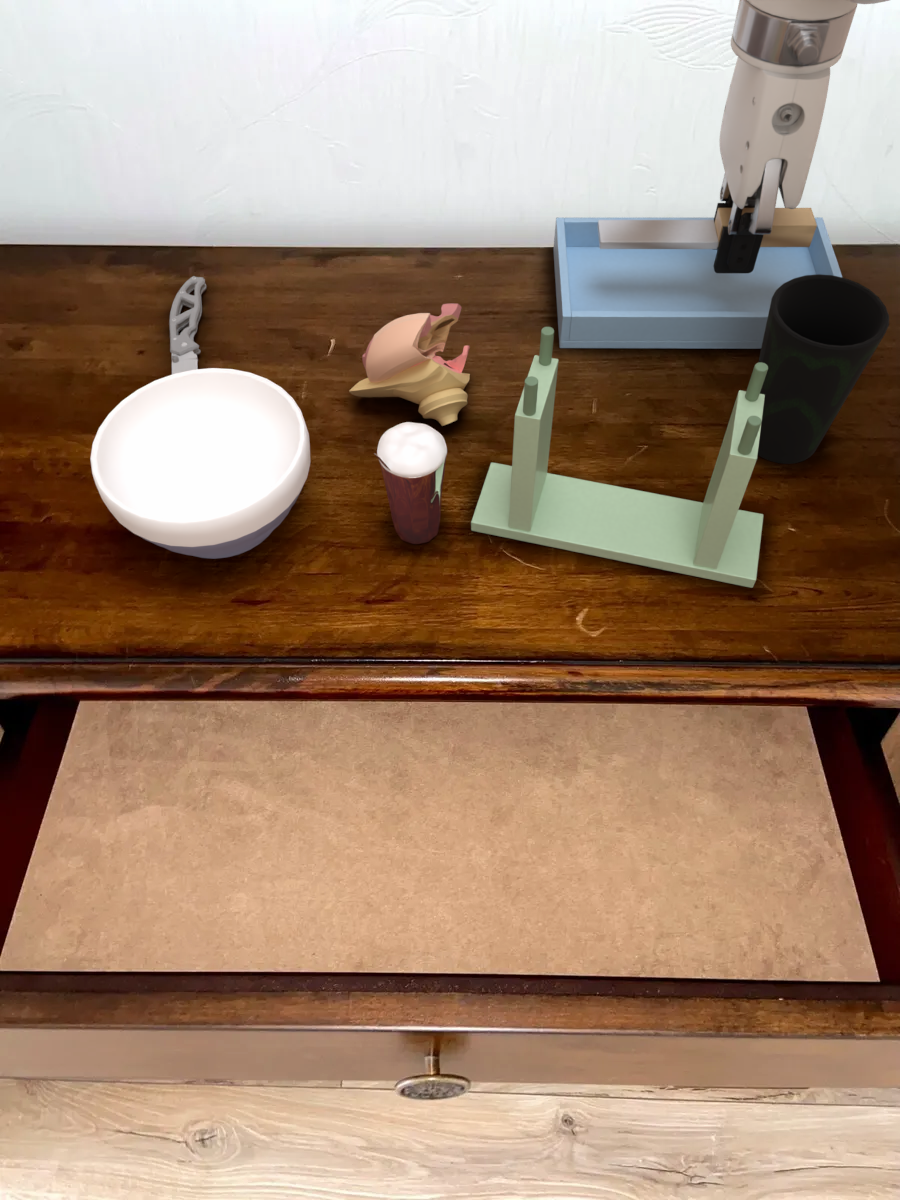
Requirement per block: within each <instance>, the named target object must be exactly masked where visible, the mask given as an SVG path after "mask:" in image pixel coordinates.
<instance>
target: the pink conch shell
mask: <svg viewBox="0 0 900 1200" xmlns="http://www.w3.org/2000/svg"><path fill="white" fill-rule="evenodd" d="M440 310H441V313H440V315H439V316H437V315H433V314H431V313H430V312H418V313H412V314H407V315H403V316H401V317H397V318H395V319H393V320H391V321H389V322H388V323H386V324H385V325H383V326H382V327H381V328H380V329H379V330H378V331H377V332H376V333H374V334H373V336H372V338H371V340H370V341H369V343H368V345H367V348H366V350H365V352H364V353H363V354H362V356H361V357H362V358H361V359H362V364H363V368H364V370H365V373H366V378H364V379H362V380H359V381H358V382H357V383H356V384H355V385H354V386H352V387H351V389H349V390H348V391H349V394H351V395H353V396H355V397H358V398H401V399H404V400H406V401H409V402H411V403H414V404H417V405H418V410H417V412H418V413H419V414H420V415H421V416H422V418H423V419H425V420H426V419H432V420H436V421H437V422H438V423H439V424H440V426H441V427H443V426H446V425H449V424H452V423H453V422H456V421H458V415H459V412H460V411H461V410H462V409H463V408H464V407H465V406H467V405H468V397H469V394H468V393H467V392H466V391H464V390H465V388H466V387H467V385H468V383H469V382H470V375H471V373H465V372H463V371H464V367H465V366H466V365H465V364H466V361H467V359H468V355H469V352H470V349H471V346H470V345H468V344H467V345H463V349H462V353H461V354H459V355H458V356H456V357H455V358H453V359H452V360H451V359H448V360H445V359H444V358H443V357H442V356H440V355H436V354H437V353H438V352H440V353H444V349H445V347H446V343H447V340H448V337H449V334H450V330H451V327H452V326H453V325H455V324H457V322H458V321H459V319H460V315H461V313H462V312H461V311H462V306H461V304H460V303H443V304H442V305H441V308H440Z"/></svg>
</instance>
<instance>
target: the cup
mask: <svg viewBox="0 0 900 1200" xmlns="http://www.w3.org/2000/svg"><path fill="white" fill-rule="evenodd" d="M842 277H843V276H842ZM842 277H838V276H833V275H821V274H817V275H805V276H802V277H798V278H794V279H792V280H790V281H788V282H786V283H784V284H782V285H781V286H780V287H779V288H778V289H777V290H776V291H775V293H774V295H773V297H772V299H771V304H770V309H769V314H768V319H767V323H766V328H765V333H764V338H763V342H762V347H761V349H760V353H759V357H758V362H757V363H759V362H762V363H765V364H766V365H767V366H768V371H767V374H766V377H765V380H764V382H763V385H762V388H761V391H760V394H764V395H765V398H764V406H763V415H762V423H761V431H760V439H759V447H758V455H757V456H759V457H760V458H762V459H764V460H767V461H769V462H772V463H775V464H782V465H783V464H784V465H791V464H798V463H801V462H804V461H806V460H808V459H809V458H811V457H812V456H813V455H814V454H815V452H817V449H818V448H819V446H820V444H821V442H822V441H823V439H824V437H825V436H826V434H827V432H828V431H829V429H830V427H831V426H832V424H833V422H834V421H835V419H836V417H837V415H838V414H839V412H840V410H841V409H842V407H843V406H844V404H845V402H846V400H847V399H848V397H849V395H850V394H851V392H852V390H853V389H854V387H855V386H856V383H857V382H858V380H859V379H860V376H861V375H862V373H863V372H864V370H865V368H866V367H867V365H868V364H869V361H870V360H871V359H872V357H873V355H874V353H875V352H876V350H877V349H878V347H879V345H880V343H881V341H882V340H883V338H884V336H885V334H886V333H887V331H888V328H889V326H890V314H889V311H888V309H887V306H886V305H885V304H884V302H883V301H882V300H881V298H880V297H879V296H878V295H877V294H876V293H874V292H873V291H872V290H871V289H870V288H868V287H866V286H864V285H863V284H861V283H860V282H856V281H854V280H852V279H849V278H846V277H843V278H842Z"/></svg>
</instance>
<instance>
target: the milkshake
mask: <svg viewBox="0 0 900 1200" xmlns="http://www.w3.org/2000/svg"><path fill="white" fill-rule="evenodd" d="M376 449H377V450H376V453H375V452H374V453H373V454H374V456H375V457H376V458H377V460H378V462H379V463H378V464H379V466H380V469H381V474H382V478H383V482H384V486H385V491H386V496H387V500H388V505H389V510H390V514H391V519H392V523H393V529H394V531H395V532H396V534H397V535H398V537H399V538H400V540H401V541H403V542H406V543H409V544H412V545H419V544H425V543H429V542H430V541H431V540H432V539H434V538H435V537H436V536H437V535H439V530H440V525H441V524H440V523H441V513H442V511H441V510H442V500H443V499H442V498H443V486H444V485H443V484H444V479H445V471H446V463H447V455H448V447H447V443H446V440H445V437H444V435H442V434H441V432H439V431H438V430H436V429H435V428H433V427H432V426H430V425H429V424H426V423H421V422H412V421H406V422H402V423H399V424H396V425H394V426H393V427H390V428H388V429H387V430H386V431H384V432H383V434H382V435H381V436H380V439H379V441H378V444H377V448H376Z"/></svg>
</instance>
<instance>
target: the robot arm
mask: <svg viewBox="0 0 900 1200" xmlns="http://www.w3.org/2000/svg"><path fill="white" fill-rule="evenodd" d="M888 1H890V0H738V6H737V11H736V14H735V20H734V23H733V24H734V25H733V28H732V33H731V37H730V46H731V51H732V52H733V53H734V54H735V56H736V57H737V59H736V62H735V66H734V69H733V73H732V77H731V81H730V85H729V89H728V93H727V96H726V101H725V105H724V110H723V115H722V120H721V126H720V132H719V152H720V158H721V161H722V166H723V170H724V174H723V179H722V183H721V186H720V189H719V190H720V191H719V202H717V204H716V209H715V213H714V217H713V218H714V223H715V219H716V214H717V210H718V208H732V210H731V215H730V219H729V223H728V227H723V230H722V234H721V238H720V242H719V246H718V247H717V249H713V250H717V254H716V258H715V262H714V271H715V272H716V273H751V272H752V271H753V270H754V266H755V263H756V259H757V256H758V253H759V249H760V246H761V242H762V239H763V235H764V234H770V233H771V231H772V225H773V219H774V213H775V208H777V200H778V193H780V196H781V200H782V202H783V207H784V208H789V209H795V208H798V206H799V205H800V203H801V201H802V198H803V194H804V190H805V187H806V183H807V180H808V176H809V172H810V168H811V165H812V162H813V158H814V153H815V149H816V146H817V142H818V138H819V135H820V129H821V127H822V121H823V118H824V113H825V108H826V102H827V97H828V93H829V92H828V91H829V85H830V80H831V79H830V78H831V67H833V66H835V65H836V64H837V63H838V62H839V61H840V59H841V58H842V55H843V52H844V48H845V46H846V43H847V39H848V36H849V33H850V30H851V27H852V23H853V20H854V17H855V14H856V10H857V8H858V5H875V4H879V3H884V2H888ZM743 208H754V212H753V213H750V212H746V213H744V214H743V215H742V211H743Z"/></svg>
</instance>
